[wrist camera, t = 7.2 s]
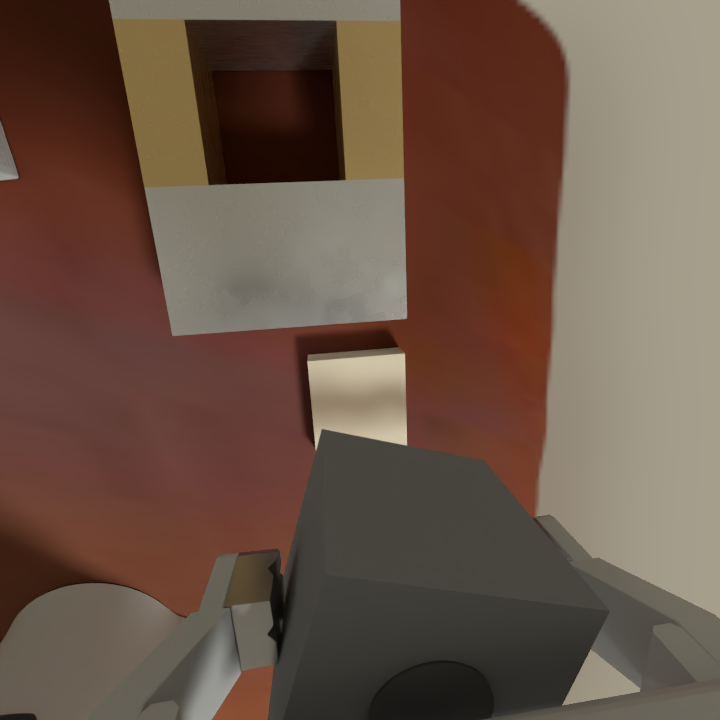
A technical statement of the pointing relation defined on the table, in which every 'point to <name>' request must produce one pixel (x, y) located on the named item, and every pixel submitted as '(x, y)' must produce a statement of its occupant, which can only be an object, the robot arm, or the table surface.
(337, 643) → the nut block
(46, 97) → the table surface
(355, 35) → the grey yellow rectangular frame
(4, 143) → the supplement box
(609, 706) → the robot arm
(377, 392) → the tab
